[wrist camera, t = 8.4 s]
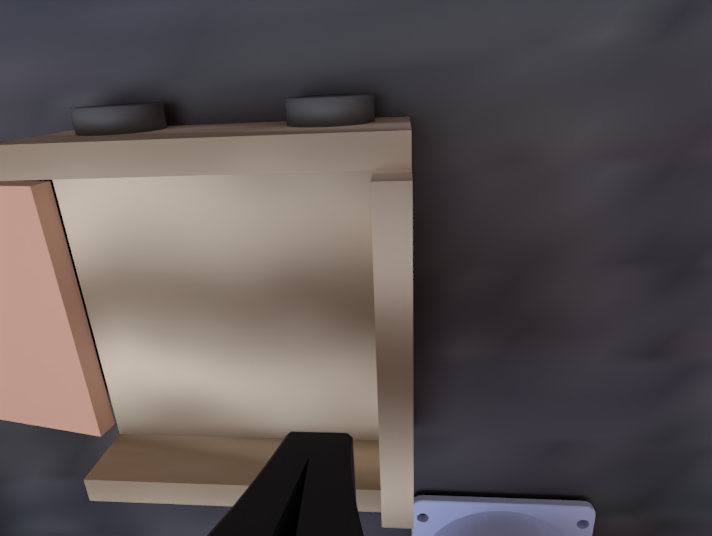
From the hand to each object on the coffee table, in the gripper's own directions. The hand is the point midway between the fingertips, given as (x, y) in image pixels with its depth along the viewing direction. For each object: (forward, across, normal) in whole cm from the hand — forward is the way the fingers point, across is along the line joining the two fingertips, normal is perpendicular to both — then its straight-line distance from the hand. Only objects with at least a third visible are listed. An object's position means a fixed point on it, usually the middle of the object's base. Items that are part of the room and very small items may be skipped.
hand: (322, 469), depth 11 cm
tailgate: (+7, +10, 0) cm, 12 cm away
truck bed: (+9, +4, 0) cm, 10 cm away
